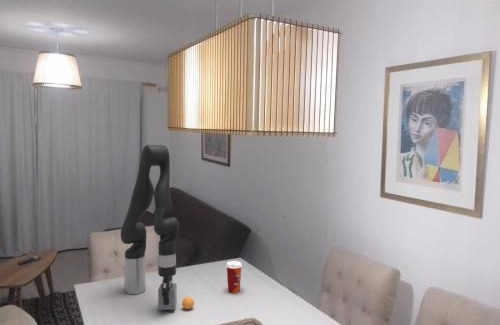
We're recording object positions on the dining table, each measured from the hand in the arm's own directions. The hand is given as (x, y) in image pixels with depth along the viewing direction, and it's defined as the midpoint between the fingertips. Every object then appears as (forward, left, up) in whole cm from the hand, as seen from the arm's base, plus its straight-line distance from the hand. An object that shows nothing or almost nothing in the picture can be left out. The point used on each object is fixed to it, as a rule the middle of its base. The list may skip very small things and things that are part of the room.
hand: (167, 300), depth 171 cm
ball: (+6, +6, -1) cm, 9 cm away
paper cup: (+10, +33, -4) cm, 35 cm away
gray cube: (0, 0, -2) cm, 2 cm away
